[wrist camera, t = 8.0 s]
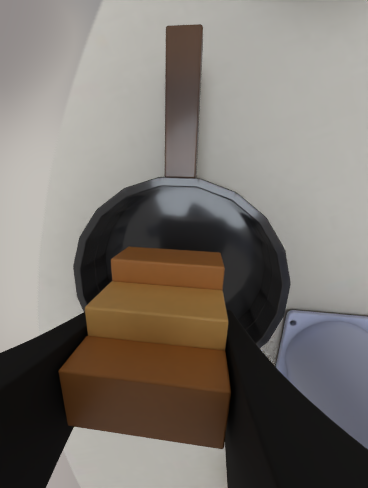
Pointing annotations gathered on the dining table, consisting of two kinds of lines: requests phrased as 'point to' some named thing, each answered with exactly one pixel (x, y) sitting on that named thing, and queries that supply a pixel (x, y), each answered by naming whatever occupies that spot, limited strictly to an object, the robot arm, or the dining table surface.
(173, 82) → the pan handle
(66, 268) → the dining table surface
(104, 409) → the tiered wooden ziggurat
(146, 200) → the pan
